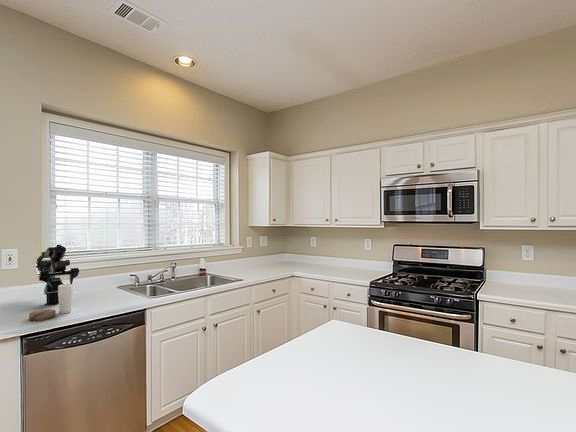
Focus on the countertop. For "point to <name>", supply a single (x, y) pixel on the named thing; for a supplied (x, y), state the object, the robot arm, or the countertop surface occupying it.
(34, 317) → the walnut pedestal
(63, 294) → the drinking glass
